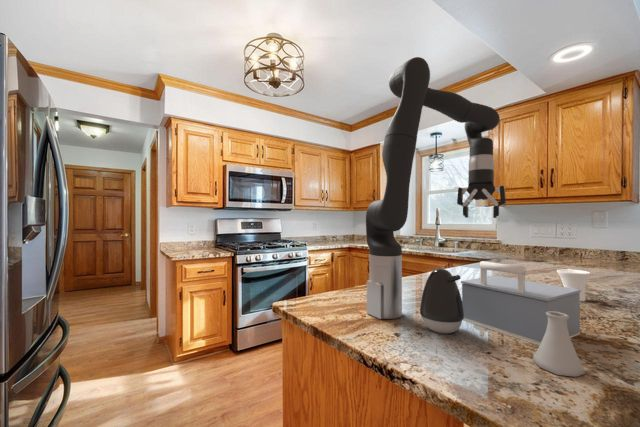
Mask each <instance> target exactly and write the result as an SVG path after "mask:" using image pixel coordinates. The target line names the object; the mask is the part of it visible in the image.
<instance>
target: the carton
mask: <svg viewBox="0 0 640 427" xmlns="http://www.w3.org/2000/svg"><path fill="white" fill-rule="evenodd" d="M461 299H462V304H463V310H464V319H463V320H462V321H464V322H467V323H470V324H473V323H474V325H477V326H479V327H483V328H485V329H489V330H492V331H494V332H498V333H501V334H504V335H507V336H510V337H512V338H516V339H519V340H522V341H525V342H529V343H531V344H534V345H536V346H540V344H541V341H542V339H543V337H544V335H545V333H546V329H547V324H548V316H547V315H546V312H549V311H553V312H560V313H564V314H566V315H568V316H569V319H567V328H568V333H569V337H570V339H571V338H574V337H577V336H579V335H580V334H581V314H580V313H581V301H580V293H576V294H573V295H569V296H565V297H562V298H558V299H555V300H551V301H543V300H539V299H534V298H529V297H524V296H519V295H515V294H510V293H505V292H500V291H496V290H491V289H486V288H481V287H477V286H472V285H467V284H462V283H461Z"/></svg>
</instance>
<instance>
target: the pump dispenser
mask: <svg viewBox="0 0 640 427" xmlns="http://www.w3.org/2000/svg"><path fill="white" fill-rule="evenodd" d="M460 279H461V276H460V275H459V274H456V275H452V273H451V272H450V271H449V270H448V269H445V268H436V269H433V270H432V271H431V272H430V274H429V275H428V277H427V279H426V281H425V284H424V287H423V290H422V293H421V298H420V304H419V315H420V316H421V320H422V322H423V324H424V326H425V327H426V328H428V329H429V330H430V331H433V332H435V333H439V334H446V335H447V334H452V333H455V332H456V331H458V329H460V327H461V325H462V323H463V321H464V320H463V319H464V310H463V304H462V294H461V292H460V288H459V287H458V283H457V281H458V280H460Z"/></svg>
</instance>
